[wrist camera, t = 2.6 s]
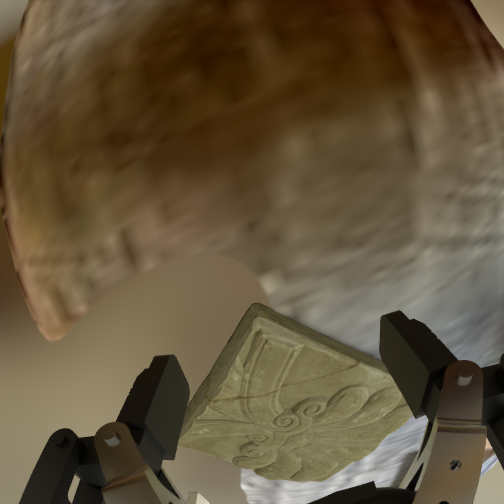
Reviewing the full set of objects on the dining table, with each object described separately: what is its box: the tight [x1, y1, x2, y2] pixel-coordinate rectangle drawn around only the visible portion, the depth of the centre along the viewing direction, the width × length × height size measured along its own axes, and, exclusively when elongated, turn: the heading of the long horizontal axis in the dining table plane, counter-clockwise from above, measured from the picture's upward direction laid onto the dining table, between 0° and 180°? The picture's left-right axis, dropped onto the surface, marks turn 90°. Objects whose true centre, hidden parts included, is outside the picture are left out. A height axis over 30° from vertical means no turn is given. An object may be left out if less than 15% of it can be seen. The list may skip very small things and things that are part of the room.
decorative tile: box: [178, 303, 413, 482], centre depth 21 cm, size 19×20×4 cm
